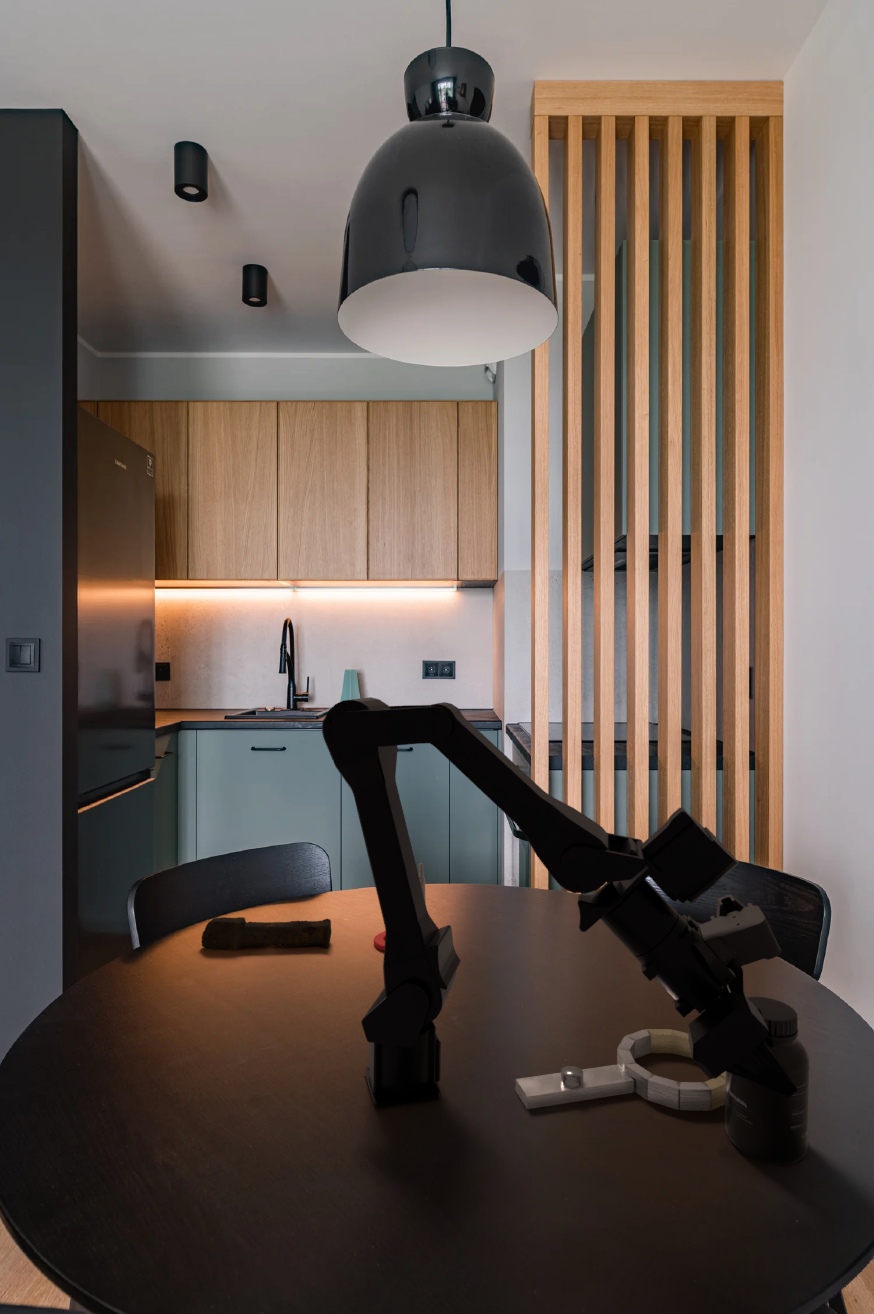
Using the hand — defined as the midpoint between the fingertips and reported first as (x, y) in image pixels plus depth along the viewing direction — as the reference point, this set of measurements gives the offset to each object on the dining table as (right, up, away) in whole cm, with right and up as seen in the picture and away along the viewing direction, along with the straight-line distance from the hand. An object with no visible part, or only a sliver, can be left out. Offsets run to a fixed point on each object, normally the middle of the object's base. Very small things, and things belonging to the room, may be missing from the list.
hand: (783, 1070), depth 64 cm
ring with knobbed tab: (0, -7, +12) cm, 14 cm away
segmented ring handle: (-14, -7, +8) cm, 18 cm away
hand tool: (-56, -7, +43) cm, 71 cm away
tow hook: (-36, -7, +45) cm, 58 cm away
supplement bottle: (-1, -7, 0) cm, 7 cm away
